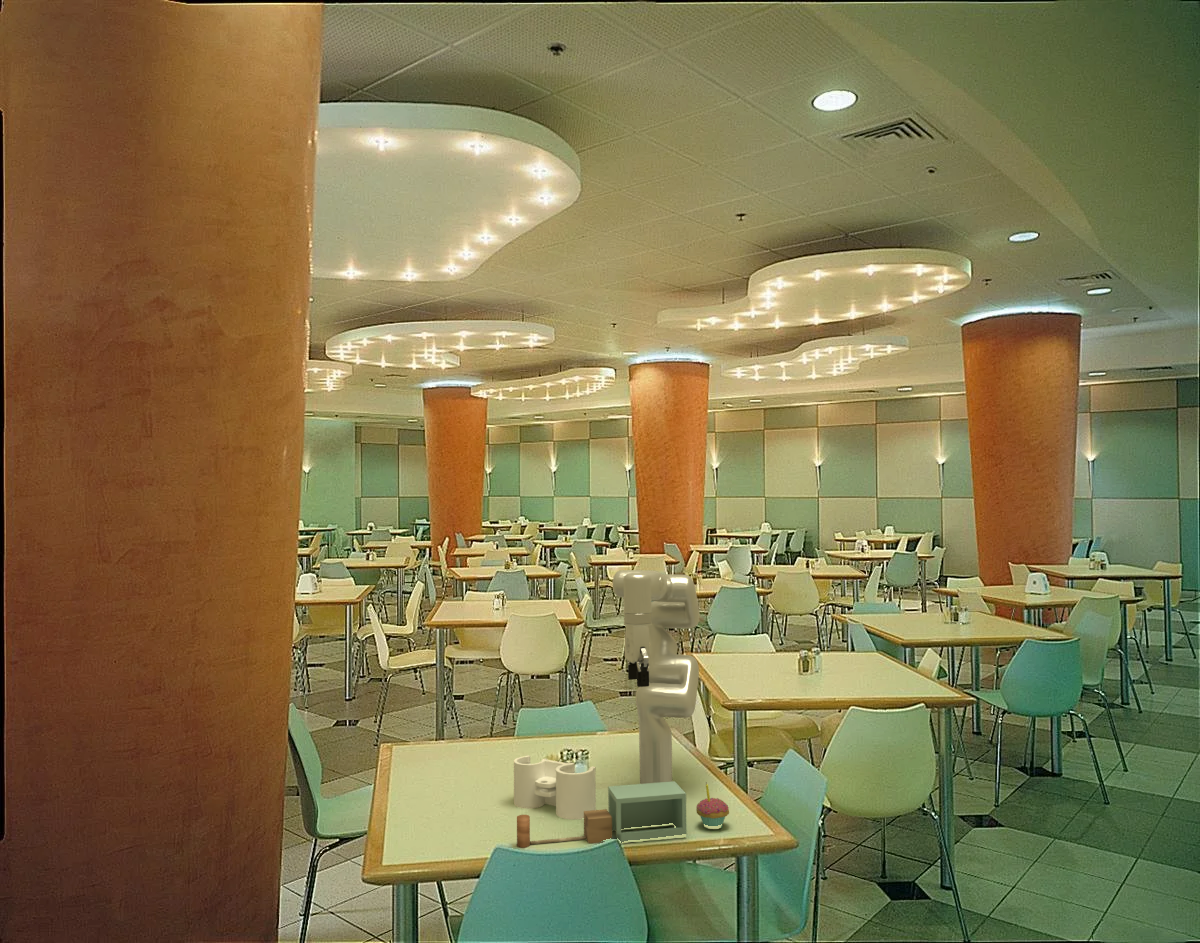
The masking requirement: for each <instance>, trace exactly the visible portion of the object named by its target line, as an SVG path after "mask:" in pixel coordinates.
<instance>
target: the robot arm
mask: <svg viewBox="0 0 1200 943" xmlns="http://www.w3.org/2000/svg"><path fill="white" fill-rule="evenodd" d="M612 590H613V592H614V594H615V596H617V597H618V598H623V625H624V626H625V634H624V658H625V659H626V660H627V663H628V665H627V679H628V680H630V681H631V680H632V681H633V680H634V681H635V680H636V686H637V687H638V688H637V690H635V704H636V710H637V711H636V712H637V718H638V731H639V732H638V734H639V735H638V737H639V738H638V739H639V741H638V742H639V746H638V747H639V753H638V754H639V784H646V783H659V782H672V781H673V744H672V743H673V737H672V735H673V734H672V730H671V729H672V728H671V727H670V724H669V723H668V722H667V720H666V719H665V718H680V719H685V718H686V719H687V718H690V717H691V716H693V715H694V713H695V710H696V704H697V695H698V694H697V693H698V688H699V687H698V686H699V677H700V675H699V674H700V670H699V668H700V667H699V663H698V661H697V659H696V658H695V656H692V655H690V654H677V653H678V648H679V646H678V644H677V641H676V639H674V637H673V635H672V634H671V633H670V632H668V631H667V630H666V629H690V630H691V629H694V628H696V627H697V626H698V624H699V623H700V622H699V621H700V608H699V603H698V596H697V590H696V586H695V583H694V580H693V579H692V577H691V576H689V575H687V574H668V573H667V574H666V573H665V574H664V573H661V572H659V571H657V570H650V569H648V570H643V569H633V570H632V569H627V570H626V569H621V570H617V571H616V572H615V574H614V575H613V579H612Z"/></svg>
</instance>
